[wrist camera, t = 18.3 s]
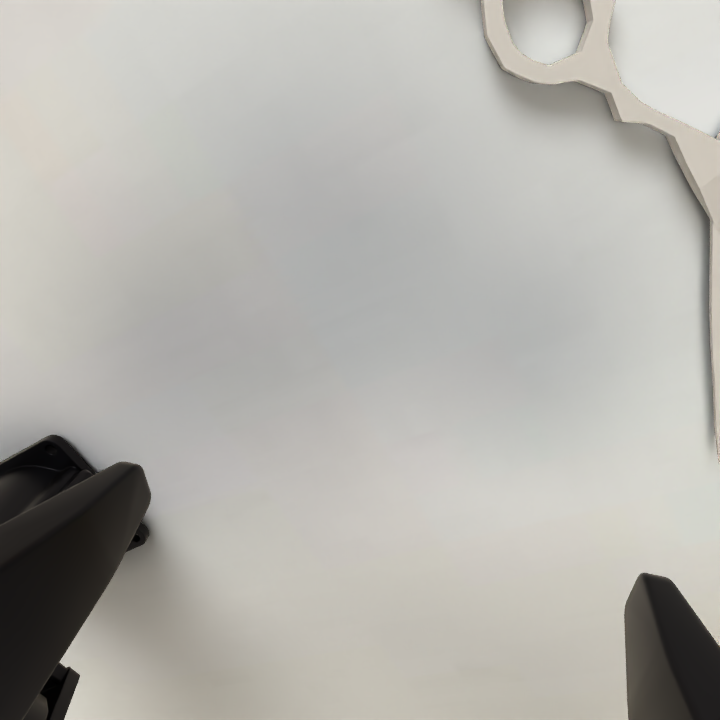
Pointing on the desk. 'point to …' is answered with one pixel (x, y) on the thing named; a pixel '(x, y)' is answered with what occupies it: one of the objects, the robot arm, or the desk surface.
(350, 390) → the desk surface
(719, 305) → the scissors
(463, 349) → the desk surface
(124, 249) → the desk surface
